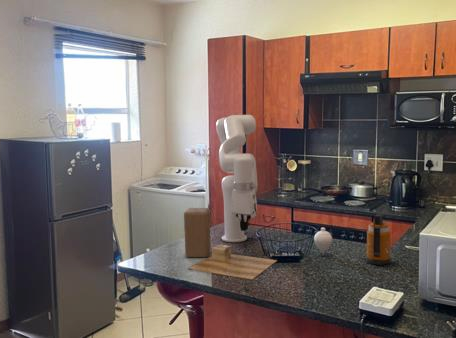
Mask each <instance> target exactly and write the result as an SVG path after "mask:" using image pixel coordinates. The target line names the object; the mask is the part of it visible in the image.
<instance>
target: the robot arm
mask: <svg viewBox="0 0 456 338" xmlns="http://www.w3.org/2000/svg"><path fill="white" fill-rule="evenodd" d="M215 126H216V128H215V129H216V134H217V136H218V139H219V142H220V147H219V151H218V158H219V167H220V169H221V170H222V172H224V173H226V174H233V175H227V176H226V175H225V176H224V177H223V178H222V179H221V190H222V195H223V219H224V220H223V221H224V234H223V235H222V236H221V240H222V241H223V242H226V243H241V242H245V241H247V240H248V236H247V235H246V234H245V232H247V230H248V229H249V221H250V220H251V219H253V218H256V217H257V212H258V201H257V194H256V193H257V192H258V187H259V184H258V171H257V161H256V157H255V156H254V154H253V153H241V151H240V148H242V147H243V146H244V145H246V142H247V137H246V135H251V134H253V133H254V132H255V131H256V129H257V121H256V119H255V117H254V116H253V115H252V114H232V115H229V116H227V117H222V118H219V119H218V120H217V121H216V124H215Z"/></svg>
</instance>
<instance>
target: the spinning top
mask: <svg viewBox="0 0 456 338" xmlns="http://www.w3.org/2000/svg"><path fill="white" fill-rule="evenodd" d="M313 241H314V244H315V246H316V247H317V249H318V250H319V251H320V252H321V253H322V256H324V254H325V253H326V252H327V250H329V248H330V246H331V244H332V242H333V235H332V234H331V233H330V232H329V231H327V230H326V228H325V227H320V230H318V231H317V232H316V233H315V235H314V237H313Z"/></svg>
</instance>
